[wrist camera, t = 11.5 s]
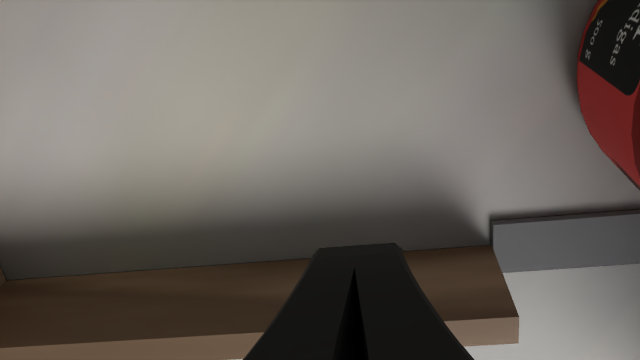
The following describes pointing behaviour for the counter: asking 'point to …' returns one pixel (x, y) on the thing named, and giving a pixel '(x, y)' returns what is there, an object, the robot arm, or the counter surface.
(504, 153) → the counter surface
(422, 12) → the counter surface
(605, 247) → the frame
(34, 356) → the wooden tray
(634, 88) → the canned food
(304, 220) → the counter surface
